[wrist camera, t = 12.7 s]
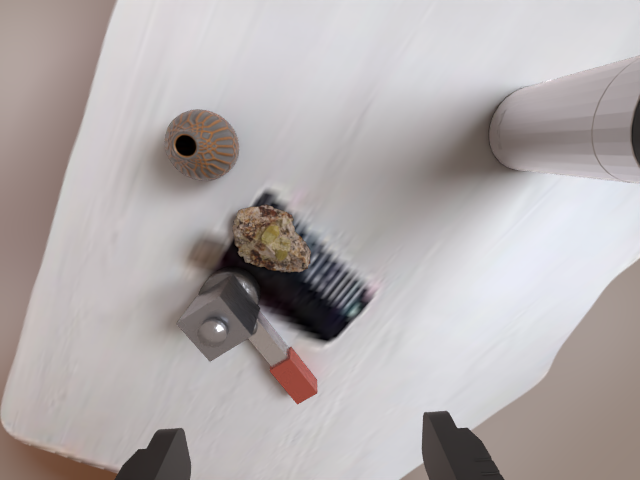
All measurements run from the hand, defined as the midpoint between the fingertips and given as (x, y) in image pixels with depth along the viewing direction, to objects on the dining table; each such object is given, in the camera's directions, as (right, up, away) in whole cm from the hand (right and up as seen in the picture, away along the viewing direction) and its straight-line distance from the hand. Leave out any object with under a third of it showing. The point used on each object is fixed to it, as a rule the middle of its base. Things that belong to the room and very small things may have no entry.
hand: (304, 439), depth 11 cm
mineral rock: (-5, +7, +30) cm, 31 cm away
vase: (-12, +17, +26) cm, 33 cm away
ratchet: (-7, -6, +33) cm, 34 cm away
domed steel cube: (-10, -1, +28) cm, 30 cm away
